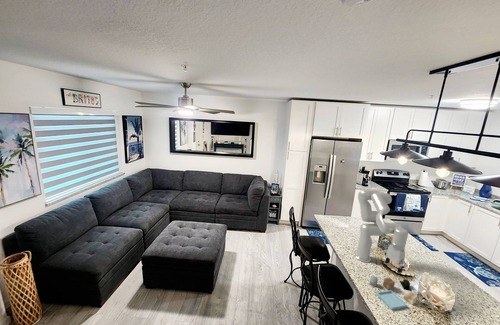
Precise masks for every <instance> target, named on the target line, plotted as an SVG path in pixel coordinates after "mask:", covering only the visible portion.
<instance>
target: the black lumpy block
mask: <svg viewBox="0 0 500 325" xmlns="http://www.w3.org/2000/svg"><path fill="white" fill-rule="evenodd" d="M399 283H400V285H401V287H402V288H403V290H404V291H410V292H412V293H414V292H413V290H412V288H411V282H410V281H409V280H408V279H405V278H404V279H403V280H399Z"/></svg>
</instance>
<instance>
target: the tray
mask: <svg viewBox="0 0 500 325" xmlns="http://www.w3.org/2000/svg"><path fill="white" fill-rule="evenodd" d="M375 293H376V294H375V295H376V296H377V297H378V298H379V299H380V300H381V301H382V302H383V303H384V304H385V305H386V307H388V308H389V309H390V310H391V311H393V310H400V309H406V308H407V307H408V304H407V303H406V301H403V299H401V298H400V297H399V296H398V295H397V294H396V293H395V292H394V291H393V290H383V291H376V292H375Z"/></svg>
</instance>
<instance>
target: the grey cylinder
mask: <svg viewBox="0 0 500 325" xmlns="http://www.w3.org/2000/svg"><path fill="white" fill-rule="evenodd" d="M378 281H379V279H378V278H377V277H376V276H374V275H372V276H370V279H369V285H370V286H372V288H376V287H377V286H378V283H379V282H378Z"/></svg>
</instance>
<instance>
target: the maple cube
mask: <svg viewBox="0 0 500 325" xmlns="http://www.w3.org/2000/svg"><path fill="white" fill-rule="evenodd" d="M417 299H418V295H417V294H415V293H414V292H412V291H408V290H406V292H405V293H404V295H403V300H404V302H407V303H408V304H409V305H410V306H411V305H414V304H416V303H417Z"/></svg>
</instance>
